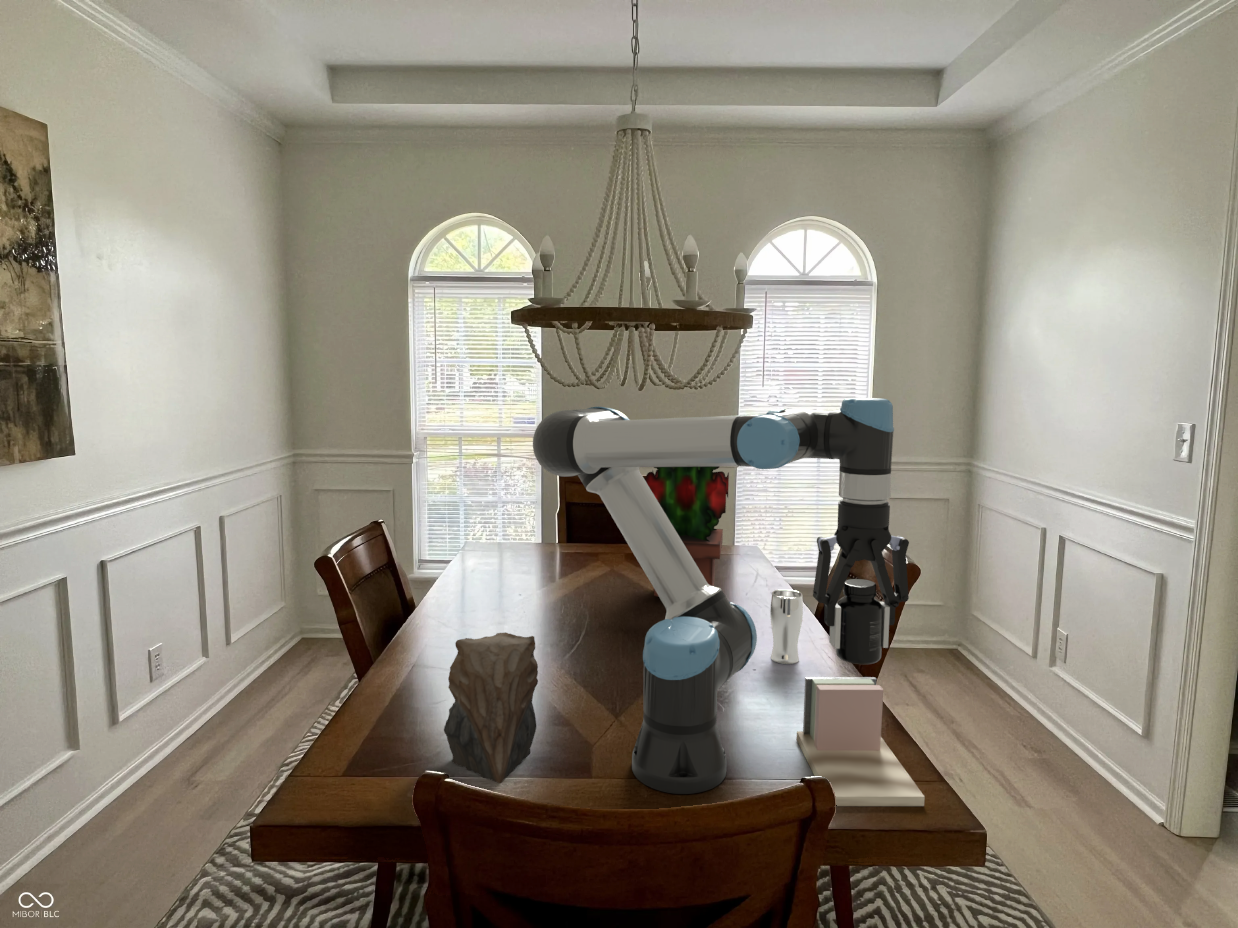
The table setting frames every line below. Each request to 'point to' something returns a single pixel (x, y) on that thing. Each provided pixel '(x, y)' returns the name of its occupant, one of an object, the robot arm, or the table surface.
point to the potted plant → (693, 509)
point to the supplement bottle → (860, 623)
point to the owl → (492, 704)
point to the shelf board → (862, 775)
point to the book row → (846, 714)
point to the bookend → (809, 694)
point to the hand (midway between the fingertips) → (858, 644)
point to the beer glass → (786, 625)
